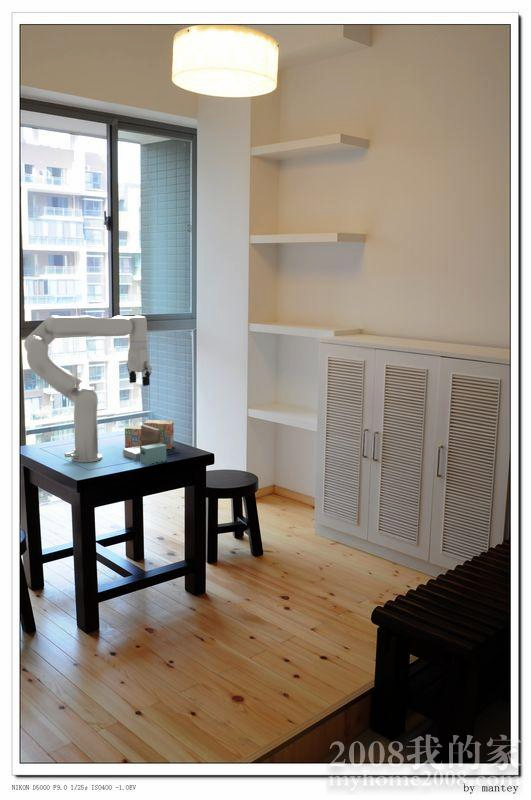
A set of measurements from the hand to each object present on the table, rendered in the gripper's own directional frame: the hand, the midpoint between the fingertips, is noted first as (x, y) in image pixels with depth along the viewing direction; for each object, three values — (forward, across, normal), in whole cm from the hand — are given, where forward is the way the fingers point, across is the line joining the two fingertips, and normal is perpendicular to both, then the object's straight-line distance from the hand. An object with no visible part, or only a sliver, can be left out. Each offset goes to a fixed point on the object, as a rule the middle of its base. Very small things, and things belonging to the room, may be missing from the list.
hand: (139, 384), depth 325 cm
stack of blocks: (+32, -7, +9) cm, 34 cm away
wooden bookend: (+31, +3, -2) cm, 31 cm away
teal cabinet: (+31, +14, -4) cm, 34 cm away
